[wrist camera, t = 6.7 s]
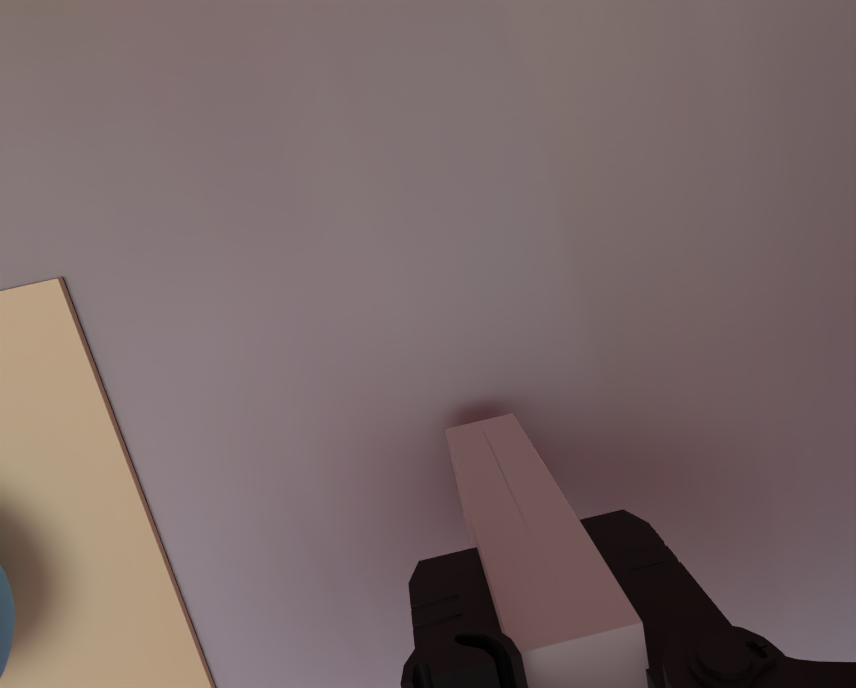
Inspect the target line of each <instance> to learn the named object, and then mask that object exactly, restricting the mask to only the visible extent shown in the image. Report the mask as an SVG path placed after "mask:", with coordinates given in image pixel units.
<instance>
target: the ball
mask: <svg viewBox="0 0 856 688" xmlns="http://www.w3.org/2000/svg"><path fill="white" fill-rule="evenodd" d="M14 626H15V606H14V600H13V594H12V590H11V587H10V585H9V582H8V579H7V576H6V573H5V571H4V569H3V567H2V566H1V564H0V678H1V676H2V674H3V672H4V669H5V666H6V663H7V660H8V657H9V654H10V651H11V647H12V642H13V636H14Z"/></svg>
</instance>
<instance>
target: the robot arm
mask: <svg viewBox="0 0 856 688" xmlns="http://www.w3.org/2000/svg"><path fill="white" fill-rule="evenodd" d="M445 434H446V438H447V443H448V447H449V452H450V456H451V461H452V465H453V470H454V474H455V479H456V483H457V488H458V492H459V497H460V501H461V506H462V510H463V515H464V519H465V524H466V528H467V533H468V537H469V541H470V545H471V549H467V550H463V551H459V552H455V553H450V554H446V555H442V556H438V557H434V558H430V559H426V560H422V561H419V562H418V564H417V566H416V568H415V571H414V573H413V575H412V577H411V579H410V581H409V593H410V603H411V609H412V611H411V613H412V624H413V629H414V630H413V634H414V644H415V650H414V651H413V653H412V654H411V656H410V657H409V659H408V660H407V662H406V663H405V665H404V668H403V674H402V680H401V687H402V688H856V662H818V661H808V660H798V659H794V658H790V657H786V656H785V655H784V654H783V653H782V652H781V651H780V650H779V649H778V648H776V647H775V646H774V645H773V644H772V643H770V642H769V641H768V640H767V639H765V638H764V637H762V636H760V635H758V634H755V633H753V632H751V631H748V630H746V629H744V628H742V627H735V626H732V625H731V624H730V622H729V621H728V620H727V619H726V617H725V616H724V615H723V614H722V613H721V611H720V610H719V609H718V608H717V606H716V605H715V604H714V603H713V602H712V600H711V599H710V598H709V597H708V595H707V594H706V593H705V592H704V590H703V589H702V588H701V587H700V586H699V584H698V583H697V582H696V581H695V579H694V578H693V577H692V576H691V574H690V573H689V572H688V571H687V570H686V568H685V567H684V566H683V565H682V563H681V562H678V560H677V557H676V556H675V555H674V554H673V552H672V551H671V550H670V549H669V547H668V546H665V544H664V541H663V540H662V539H661V538H660V536H659V535H658V534H657V533H656V532H655V530H654V529H653V528H652V527H651V525H650V524H649V523H648V522H646V521H644V520H642V519H640V518H638V517H637V516H635V515H633V514H631V513H629V512H627V511H625V510H619V511H615V512H611V513H607V514H602V515H598V516H594V517H590V518H586V519H582V520H579V519H578V517H577V516H576V514H575V512H574V511H573V509H572V507H571V506H570V504H569V503H568V501H567V499H566V498H565V496H564V495H563V493H562V491H561V490H560V488H559V486H558V485H557V483H556V482H555V480H554V478H553V477H552V475H551V473H550V472H549V470H548V469H547V467H546V465H545V464H544V462H543V461H542V459H541V457H540V456H539V454H538V452H537V451H536V449H535V448H534V446H533V444H532V443H531V441H530V439H529V438H528V436H527V435H526V433H525V431H524V430H523V428H522V427H521V425H520V423H519V422H518V420H517V418H516V417H515V415H514V414H513V413H511V414H507V415H503V416H498V417H494V418H490V419H486V420H481V421H477V422H473V423H468V424H464V425H460V426H456V427H451V428H447V429H445Z"/></svg>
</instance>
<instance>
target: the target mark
mask: <svg viewBox="0 0 856 688" xmlns="http://www.w3.org/2000/svg"><path fill="white" fill-rule="evenodd" d="M0 564H1V566H2V567H3V569H4V571H5V573H6V576H7V579H8V582H9V585H10V587H11V590H12V594H13V600H14V606H15V626H14V636H13V642H12V647H11V651H10V654H9V657H8V660H7V663H6V666H5V669H4V672H3V674H2V676H1V678H0V688H215V685H214V683H213V680H212V677H211V675H210V672H209V669H208V667H207V664H206V661H205V659H204V656H203V653H202V650H201V648H200V645H199V642H198V640H197V637H196V634H195V632H194V629H193V626H192V624H191V621H190V618H189V616H188V613H187V610H186V608H185V605H184V602H183V600H182V597H181V594H180V592H179V589H178V586H177V583H176V581H175V578H174V575H173V573H172V570H171V567H170V565H169V562H168V559H167V557H166V554H165V551H164V549H163V546H162V543H161V541H160V538H159V535H158V533H157V530H156V527H155V525H154V522H153V519H152V516H151V514H150V511H149V508H148V506H147V503H146V500H145V498H144V495H143V492H142V490H141V487H140V484H139V482H138V479H137V476H136V474H135V471H134V468H133V466H132V463H131V460H130V458H129V455H128V452H127V449H126V447H125V444H124V441H123V439H122V436H121V433H120V431H119V428H118V425H117V423H116V420H115V417H114V415H113V412H112V409H111V407H110V404H109V401H108V399H107V396H106V393H105V391H104V388H103V385H102V382H101V380H100V377H99V374H98V372H97V369H96V366H95V364H94V361H93V358H92V356H91V353H90V350H89V348H88V345H87V342H86V340H85V337H84V334H83V332H82V329H81V326H80V324H79V321H78V318H77V315H76V313H75V310H74V307H73V305H72V302H71V299H70V297H69V294H68V291H67V289H66V286H65V283H64V281H63V278H62V277H60V278H56V279H51V280H47V281H42V282H38V283H33V284H29V285H24V286H20V287H15V288H11V289H6V290H2V291H0Z"/></svg>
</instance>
